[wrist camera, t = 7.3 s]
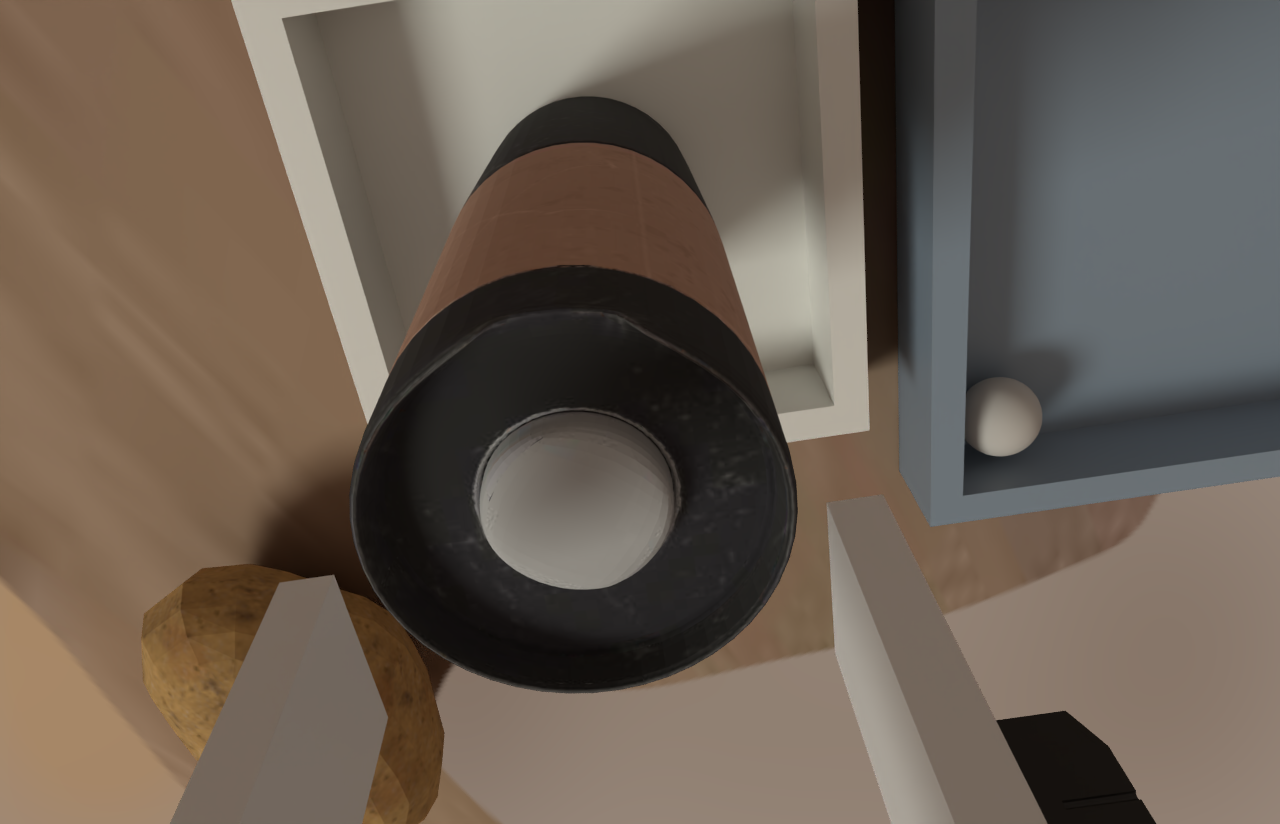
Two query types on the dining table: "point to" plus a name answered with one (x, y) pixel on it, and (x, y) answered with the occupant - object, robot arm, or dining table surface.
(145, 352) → the dining table surface
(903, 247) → the bin
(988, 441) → the pebble
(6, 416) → the dining table surface
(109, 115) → the dining table surface
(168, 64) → the dining table surface
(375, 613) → the potato
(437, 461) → the travel mug
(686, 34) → the tray
